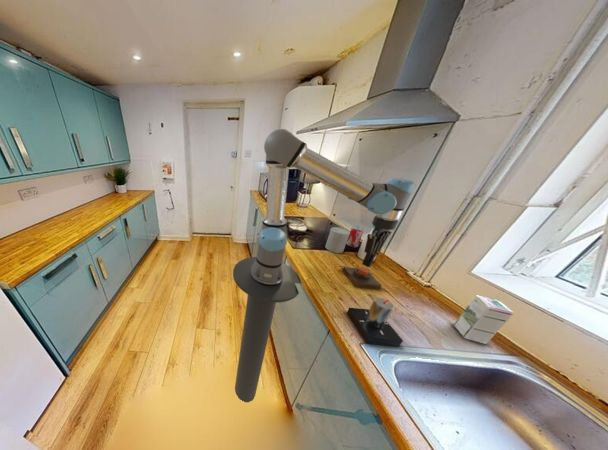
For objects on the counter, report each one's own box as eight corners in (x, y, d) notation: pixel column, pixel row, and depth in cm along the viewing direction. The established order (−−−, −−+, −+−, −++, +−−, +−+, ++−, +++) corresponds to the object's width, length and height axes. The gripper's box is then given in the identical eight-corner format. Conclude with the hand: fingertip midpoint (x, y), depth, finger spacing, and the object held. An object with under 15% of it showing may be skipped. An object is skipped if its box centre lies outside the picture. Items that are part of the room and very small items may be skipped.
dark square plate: (342, 270, 99) (344, 263, 98) (363, 272, 98) (366, 265, 97) (355, 287, 88) (358, 279, 87) (379, 289, 88) (383, 282, 86)
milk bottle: (365, 262, 106) (379, 229, 98) (353, 254, 113) (365, 222, 105) (377, 261, 107) (392, 228, 99) (365, 253, 114) (378, 222, 106)
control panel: (346, 313, 75) (349, 307, 74) (374, 316, 74) (377, 309, 73) (366, 343, 64) (369, 336, 63) (399, 346, 63) (403, 340, 62)
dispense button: (355, 270, 94) (356, 266, 93) (364, 270, 94) (365, 267, 93) (360, 275, 90) (362, 271, 89) (369, 276, 90) (371, 272, 89)
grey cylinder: (333, 243, 124) (339, 226, 119) (347, 251, 116) (354, 233, 111) (321, 245, 121) (327, 228, 116) (334, 254, 113) (341, 235, 108)
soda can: (358, 245, 123) (365, 228, 118) (356, 249, 119) (363, 231, 114) (346, 241, 127) (353, 225, 122) (344, 245, 123) (350, 227, 118)
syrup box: (487, 344, 65) (517, 313, 59) (462, 338, 67) (489, 306, 61) (474, 330, 69) (500, 299, 63) (451, 324, 71) (475, 294, 65)
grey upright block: (377, 331, 65) (389, 310, 61) (361, 319, 69) (371, 299, 65) (386, 325, 67) (398, 305, 63) (370, 314, 71) (380, 295, 67)
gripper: (385, 212, 86) (366, 257, 96) (366, 216, 81) (348, 264, 91) (406, 218, 80) (383, 266, 89) (388, 223, 75) (366, 273, 84)
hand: (366, 265), depth 90 cm, fingers closed
